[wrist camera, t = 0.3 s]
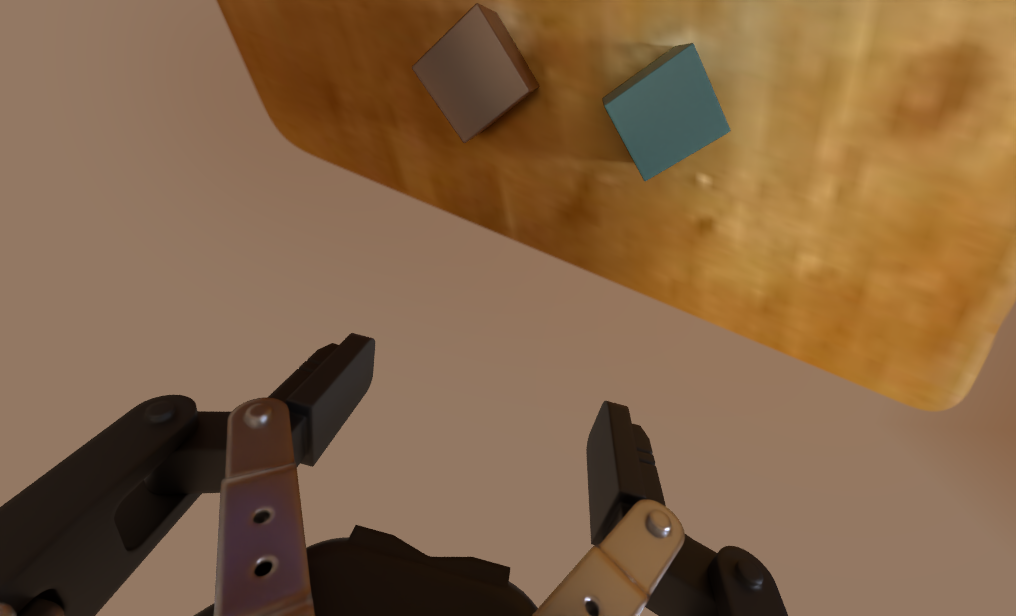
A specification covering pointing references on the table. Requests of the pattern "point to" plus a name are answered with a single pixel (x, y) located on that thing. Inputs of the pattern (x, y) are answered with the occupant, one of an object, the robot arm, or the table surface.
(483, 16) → the walnut block
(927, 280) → the table surface
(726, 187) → the table surface
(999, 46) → the table surface
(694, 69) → the teal block
